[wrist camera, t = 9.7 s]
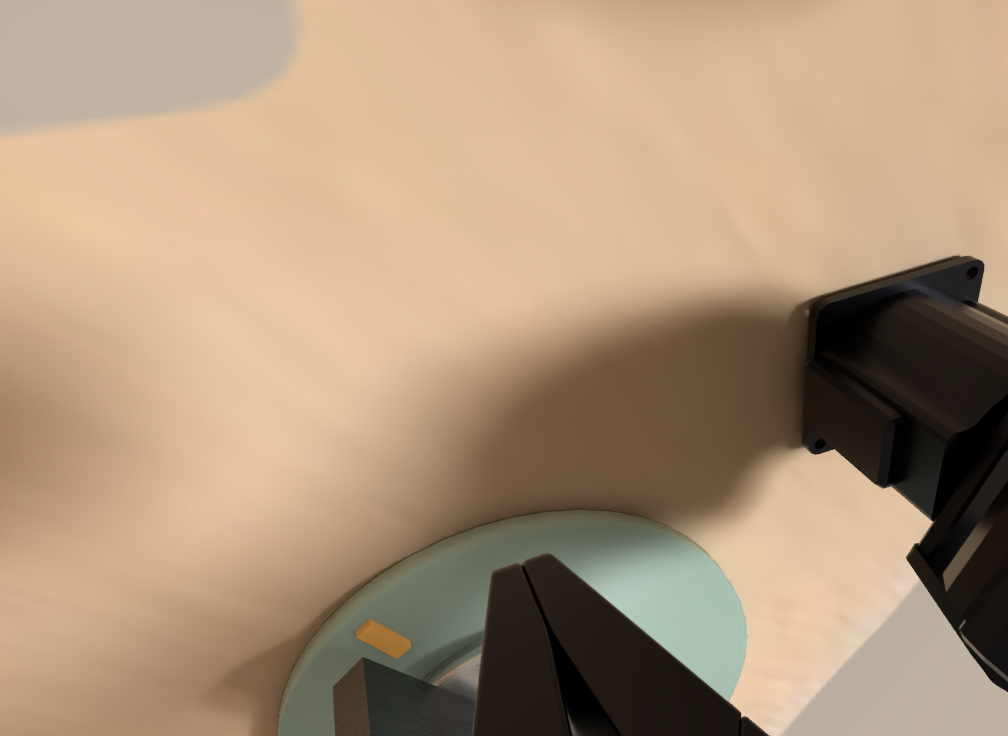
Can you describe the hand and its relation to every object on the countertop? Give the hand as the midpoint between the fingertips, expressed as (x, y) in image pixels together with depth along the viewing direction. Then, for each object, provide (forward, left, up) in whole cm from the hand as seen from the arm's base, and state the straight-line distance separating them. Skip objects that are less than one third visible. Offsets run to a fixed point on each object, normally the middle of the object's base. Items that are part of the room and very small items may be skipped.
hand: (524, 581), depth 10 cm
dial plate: (0, +20, -12) cm, 23 cm away
